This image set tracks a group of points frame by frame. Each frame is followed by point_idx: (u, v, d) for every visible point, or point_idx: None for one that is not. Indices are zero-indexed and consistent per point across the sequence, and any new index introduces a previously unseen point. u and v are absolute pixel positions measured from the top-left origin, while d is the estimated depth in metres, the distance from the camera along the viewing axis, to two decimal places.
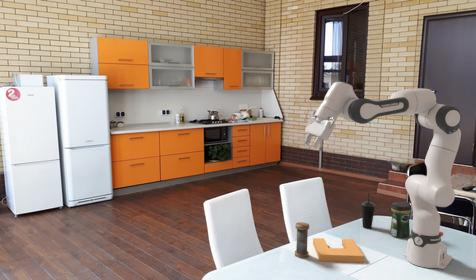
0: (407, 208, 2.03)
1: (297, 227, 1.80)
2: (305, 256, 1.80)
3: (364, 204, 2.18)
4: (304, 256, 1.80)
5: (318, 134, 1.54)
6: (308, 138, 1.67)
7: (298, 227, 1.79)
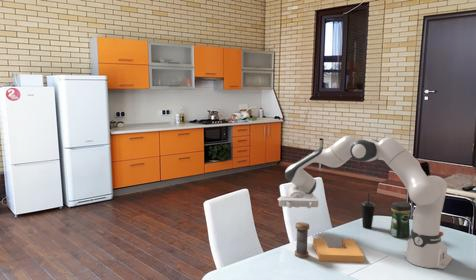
0: (407, 208, 2.03)
1: (297, 227, 1.80)
2: (305, 256, 1.80)
3: (364, 204, 2.18)
4: (304, 256, 1.80)
5: None
6: None
7: (298, 227, 1.79)
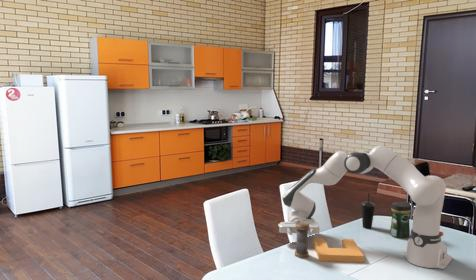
0: (407, 208, 2.03)
1: (297, 227, 1.80)
2: (305, 256, 1.80)
3: (364, 204, 2.18)
4: (304, 256, 1.80)
5: None
6: None
7: (298, 227, 1.79)
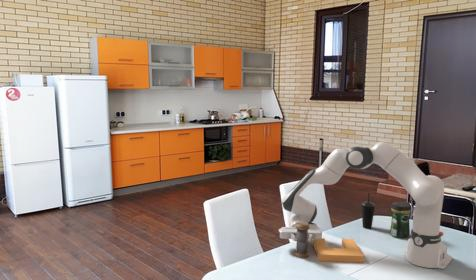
0: (407, 208, 2.03)
1: (297, 227, 1.80)
2: (305, 256, 1.80)
3: (364, 204, 2.18)
4: (304, 256, 1.80)
5: None
6: None
7: (298, 227, 1.79)
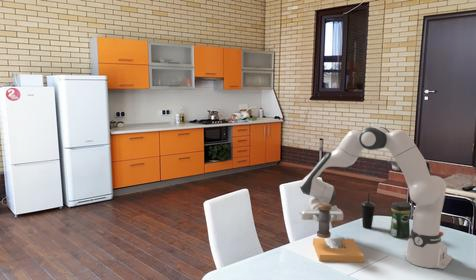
0: (407, 208, 2.03)
1: (319, 207, 1.82)
2: (327, 236, 1.82)
3: (364, 204, 2.18)
4: (327, 236, 1.82)
5: None
6: None
7: (320, 208, 1.81)
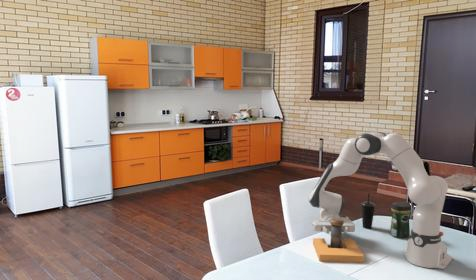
0: (407, 208, 2.03)
1: (332, 223, 1.86)
2: None
3: (364, 204, 2.18)
4: None
5: None
6: None
7: (333, 223, 1.86)
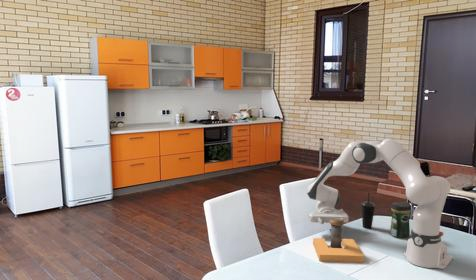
0: (407, 208, 2.03)
1: (332, 223, 1.86)
2: None
3: (364, 204, 2.18)
4: None
5: None
6: None
7: (333, 223, 1.86)
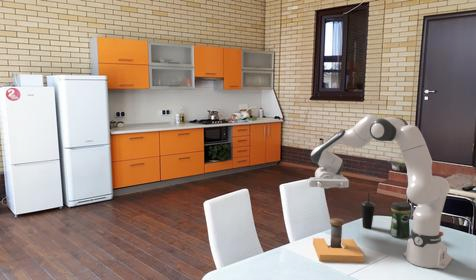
0: (407, 208, 2.03)
1: (332, 223, 1.86)
2: None
3: (364, 204, 2.18)
4: None
5: (315, 186, 1.99)
6: None
7: (333, 223, 1.86)
